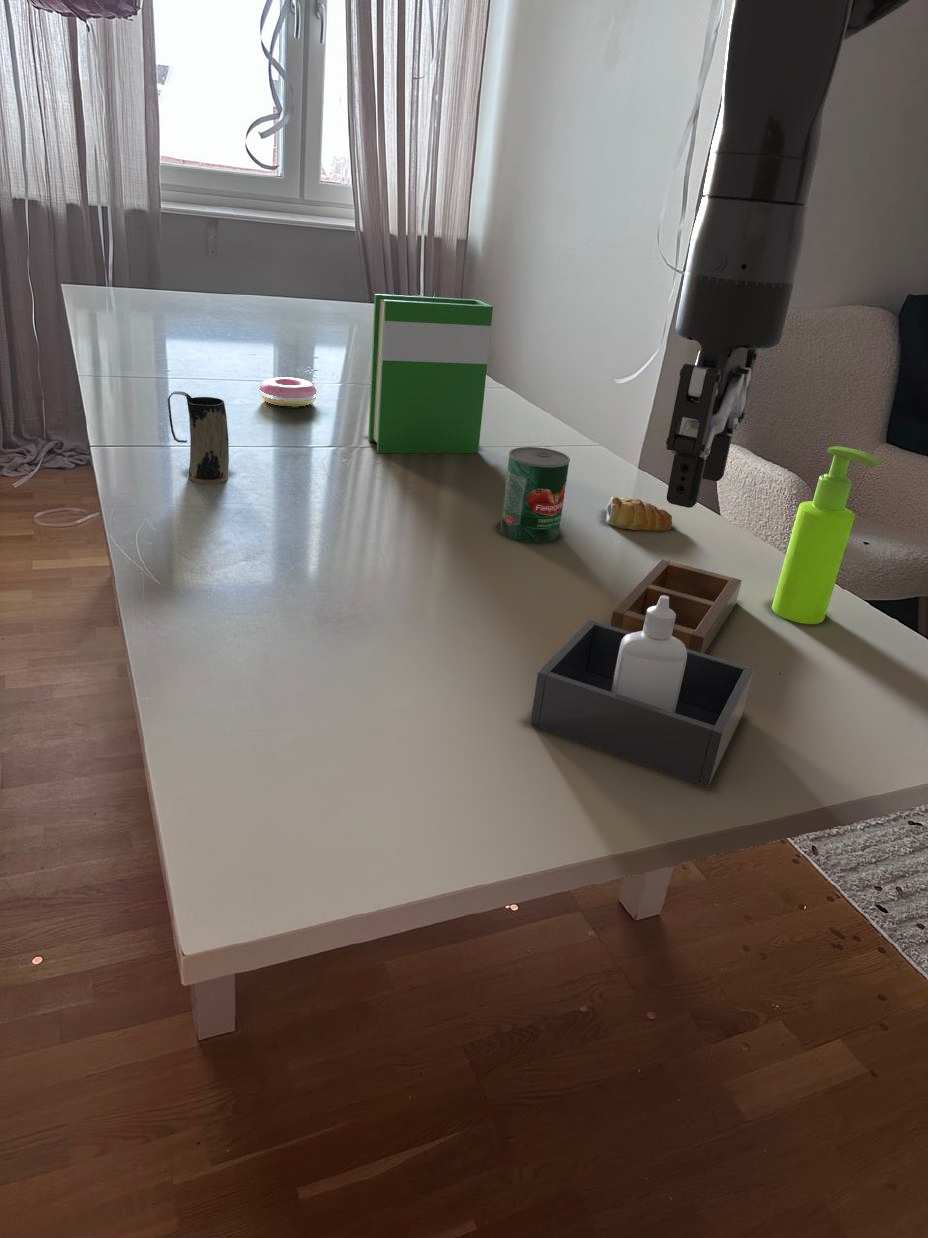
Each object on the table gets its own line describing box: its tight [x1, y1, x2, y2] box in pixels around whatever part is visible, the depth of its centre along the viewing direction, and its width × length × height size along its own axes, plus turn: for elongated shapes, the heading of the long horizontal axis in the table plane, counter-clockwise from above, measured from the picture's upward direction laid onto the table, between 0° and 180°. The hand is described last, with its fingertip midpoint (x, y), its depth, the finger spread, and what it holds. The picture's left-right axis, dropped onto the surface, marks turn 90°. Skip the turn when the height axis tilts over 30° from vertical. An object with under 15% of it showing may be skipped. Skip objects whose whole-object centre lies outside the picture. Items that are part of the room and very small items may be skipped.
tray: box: [609, 558, 742, 654], centre depth 99 cm, size 10×18×4 cm, turn 152°
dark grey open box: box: [529, 619, 755, 788], centre depth 78 cm, size 16×13×6 cm
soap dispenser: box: [771, 445, 884, 625], centre depth 99 cm, size 6×7×20 cm
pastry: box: [605, 496, 673, 532], centre depth 126 cm, size 9×7×4 cm
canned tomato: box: [500, 446, 571, 544], centre depth 117 cm, size 8×8×11 cm
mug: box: [167, 390, 230, 485], centre depth 126 cm, size 8×6×12 cm
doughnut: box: [259, 376, 318, 408], centre depth 172 cm, size 11×11×4 cm
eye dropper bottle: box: [611, 595, 687, 713], centre depth 76 cm, size 4×6×12 cm
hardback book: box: [367, 293, 494, 454], centre depth 149 cm, size 18×7×24 cm, turn 108°
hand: (695, 490), depth 70 cm, fingers open, 8 cm apart
